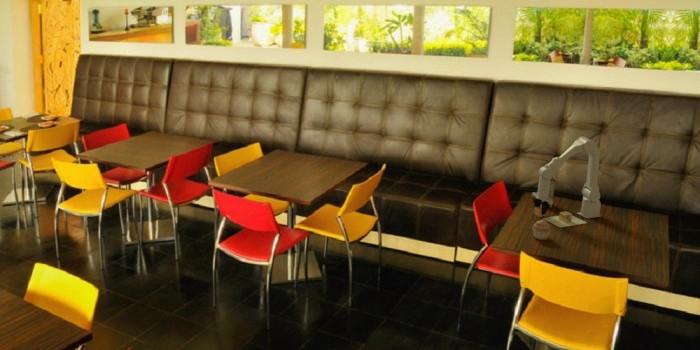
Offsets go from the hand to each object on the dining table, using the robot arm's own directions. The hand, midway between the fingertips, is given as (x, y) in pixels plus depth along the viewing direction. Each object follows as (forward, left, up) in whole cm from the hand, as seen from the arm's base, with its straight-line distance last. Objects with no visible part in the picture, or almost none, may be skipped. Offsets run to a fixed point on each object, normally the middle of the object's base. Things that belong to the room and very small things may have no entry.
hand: (540, 212), depth 324 cm
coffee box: (-14, -13, -2) cm, 19 cm away
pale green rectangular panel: (-7, +12, -1) cm, 14 cm away
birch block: (-7, +12, -1) cm, 13 cm away
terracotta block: (0, 0, -1) cm, 1 cm away
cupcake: (+21, +25, -2) cm, 33 cm away
